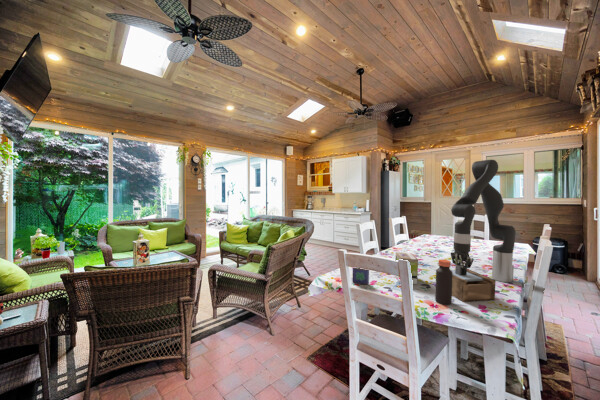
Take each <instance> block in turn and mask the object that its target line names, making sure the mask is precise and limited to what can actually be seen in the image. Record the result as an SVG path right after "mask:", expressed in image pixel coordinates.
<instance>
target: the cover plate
mask: <svg viewBox="0 0 600 400" xmlns="http://www.w3.org/2000/svg"><path fill="white" fill-rule="evenodd" d="M461 268H462V267H461V265H455V269H450V270H451V271H452V273H453V275H455V276H457V277H459V278H462V279H464V280H466V281H484V278H481V277H479V276H476V275H474V274H472V273H469V272H467V271H466V275H461Z"/></svg>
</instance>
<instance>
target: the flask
mask: <svg viewBox="0 0 600 400" xmlns="http://www.w3.org/2000/svg"><path fill="white" fill-rule="evenodd" d="M351 280H352V284H356V285H361V286H362V285H363V286H369V285H370V269H369V270H365V269H360V268H353V267H352V279H351Z"/></svg>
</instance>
